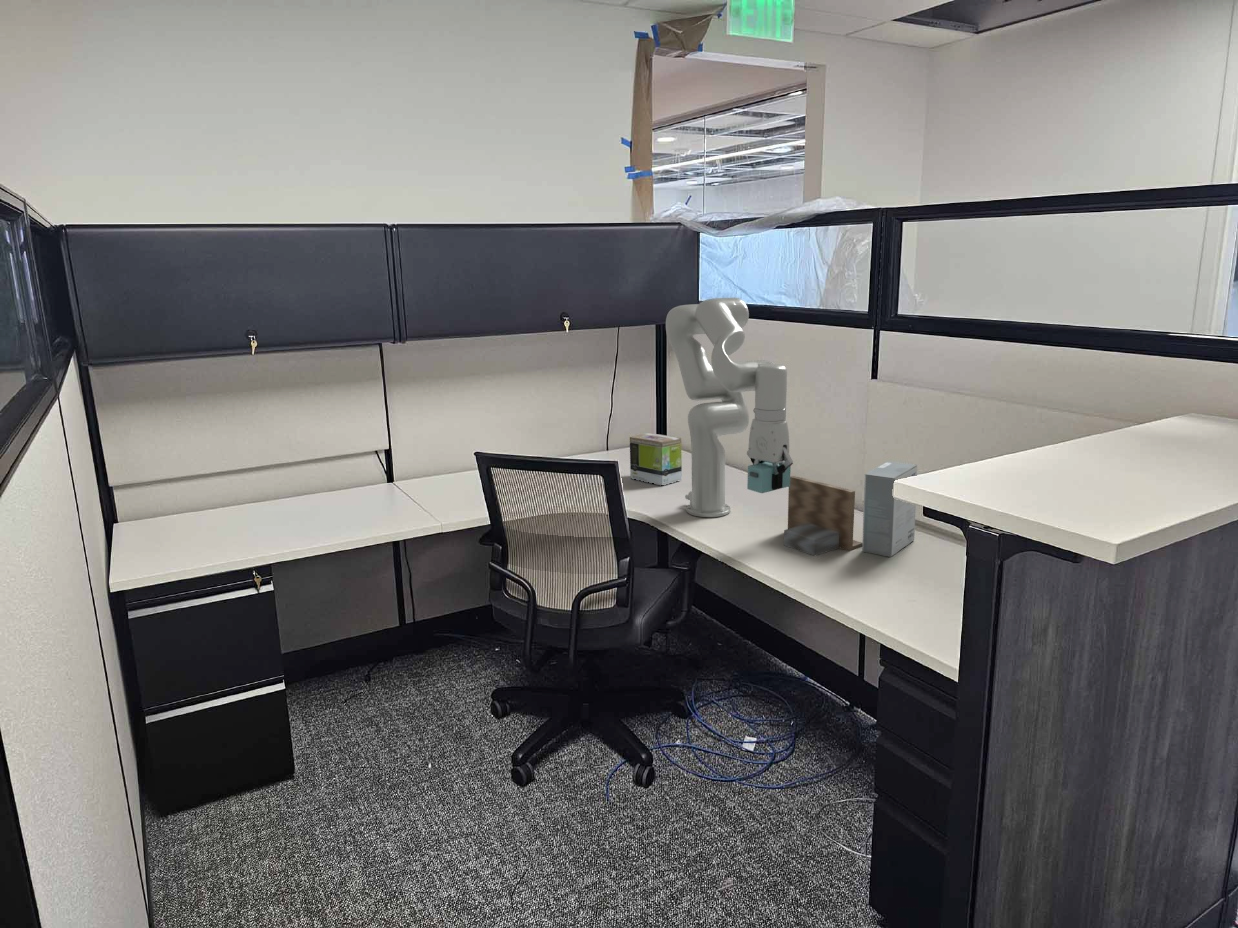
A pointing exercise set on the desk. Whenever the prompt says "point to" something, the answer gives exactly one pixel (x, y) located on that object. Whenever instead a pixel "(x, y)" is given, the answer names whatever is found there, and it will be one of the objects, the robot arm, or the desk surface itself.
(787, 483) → the cabinet block
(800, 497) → the wall board
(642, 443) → the tea box
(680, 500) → the desk surface
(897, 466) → the hard drive box
